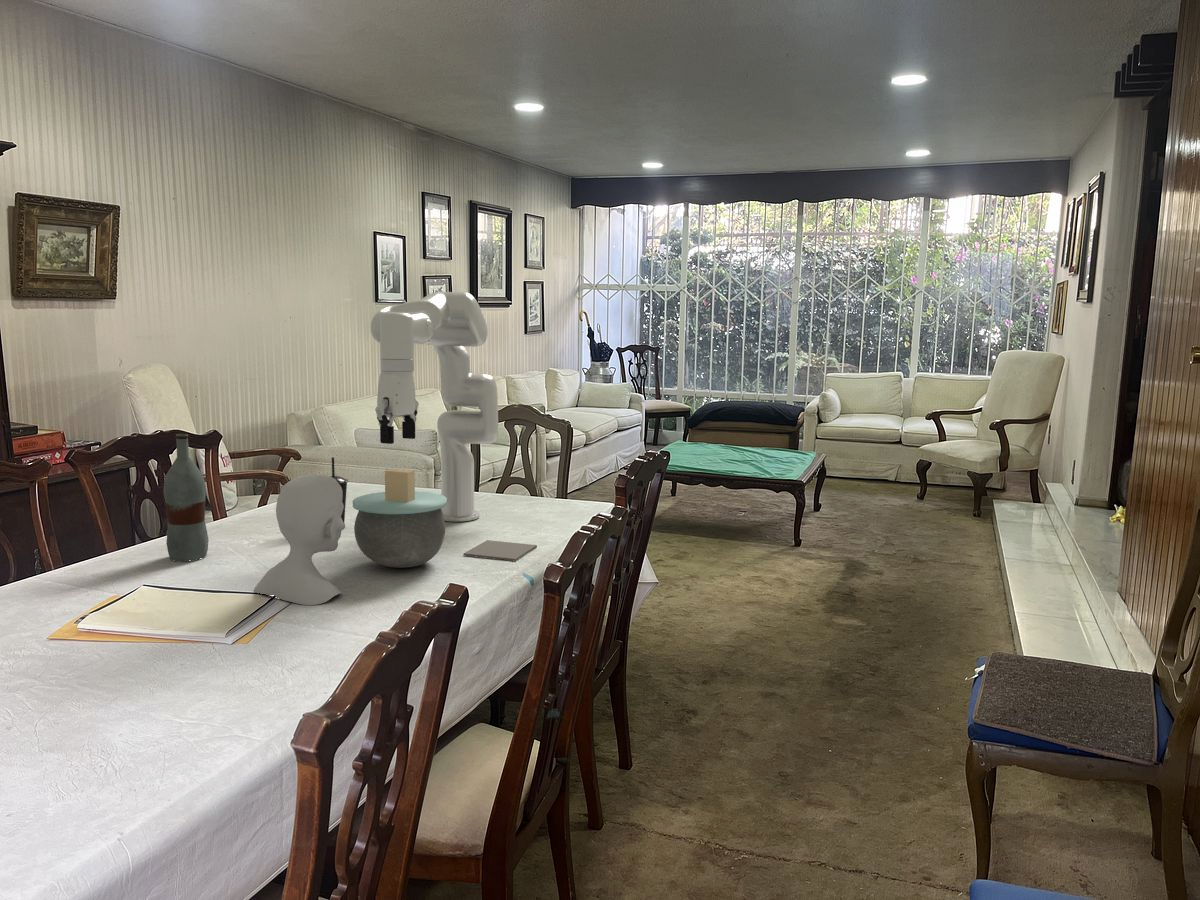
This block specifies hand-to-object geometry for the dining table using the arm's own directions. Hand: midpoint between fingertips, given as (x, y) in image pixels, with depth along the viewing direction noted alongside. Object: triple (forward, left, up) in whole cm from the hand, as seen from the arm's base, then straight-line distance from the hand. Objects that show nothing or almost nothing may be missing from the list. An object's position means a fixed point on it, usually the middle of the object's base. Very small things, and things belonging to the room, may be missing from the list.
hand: (398, 440), depth 206 cm
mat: (+17, +20, -30) cm, 40 cm away
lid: (0, +1, -15) cm, 15 cm away
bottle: (-51, -12, -30) cm, 60 cm away
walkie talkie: (-35, +25, -30) cm, 53 cm away
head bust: (-9, -22, -30) cm, 38 cm away
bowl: (0, 0, -30) cm, 30 cm away
